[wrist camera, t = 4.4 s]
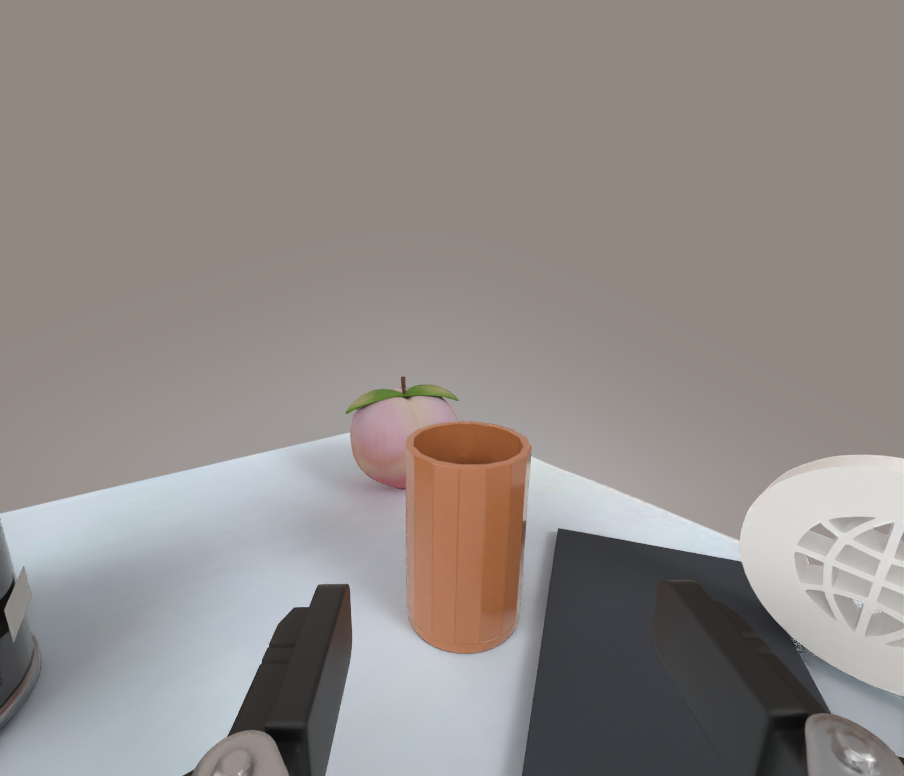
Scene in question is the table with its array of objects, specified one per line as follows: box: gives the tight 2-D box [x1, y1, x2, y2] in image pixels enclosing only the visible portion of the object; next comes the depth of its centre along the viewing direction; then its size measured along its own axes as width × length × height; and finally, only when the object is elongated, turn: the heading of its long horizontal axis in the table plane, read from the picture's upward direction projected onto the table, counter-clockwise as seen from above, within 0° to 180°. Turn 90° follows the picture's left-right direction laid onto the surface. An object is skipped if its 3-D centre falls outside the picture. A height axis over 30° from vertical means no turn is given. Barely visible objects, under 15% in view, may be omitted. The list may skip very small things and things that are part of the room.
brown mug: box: [406, 421, 531, 654], centre depth 25 cm, size 9×6×10 cm
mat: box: [522, 528, 831, 776], centre depth 21 cm, size 12×18×1 cm, turn 162°
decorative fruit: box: [346, 377, 458, 489], centre depth 37 cm, size 9×8×10 cm
